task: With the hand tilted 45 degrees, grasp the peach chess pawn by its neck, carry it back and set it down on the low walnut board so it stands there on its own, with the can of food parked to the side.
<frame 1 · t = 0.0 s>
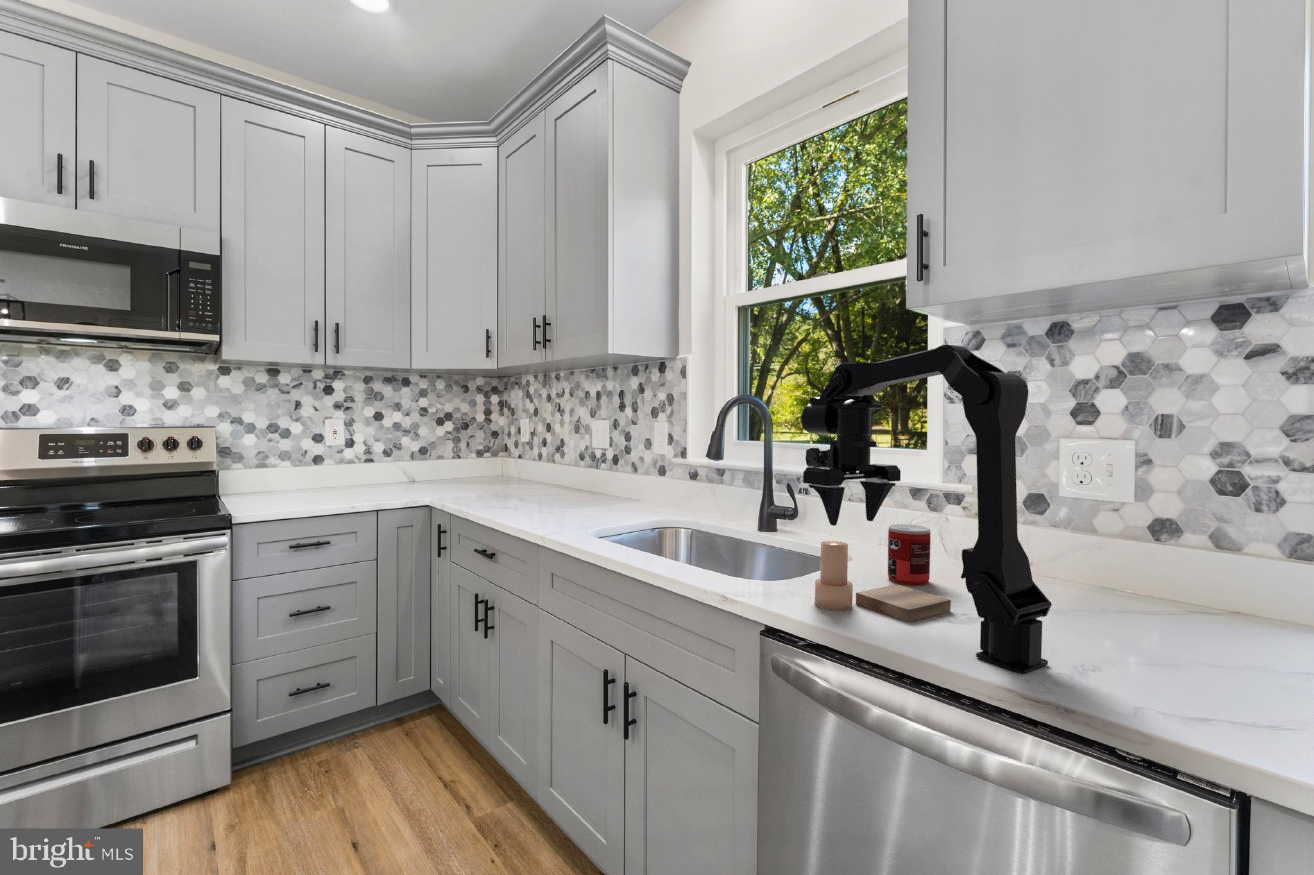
hand: (851, 523, 107), 15 cm above the worktop, tool pointing down, fingers open, 9 cm apart
canned food: (908, 581, 124), on the worktop
peach chess pawn: (833, 604, 108), on the worktop
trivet: (902, 607, 106), on the worktop
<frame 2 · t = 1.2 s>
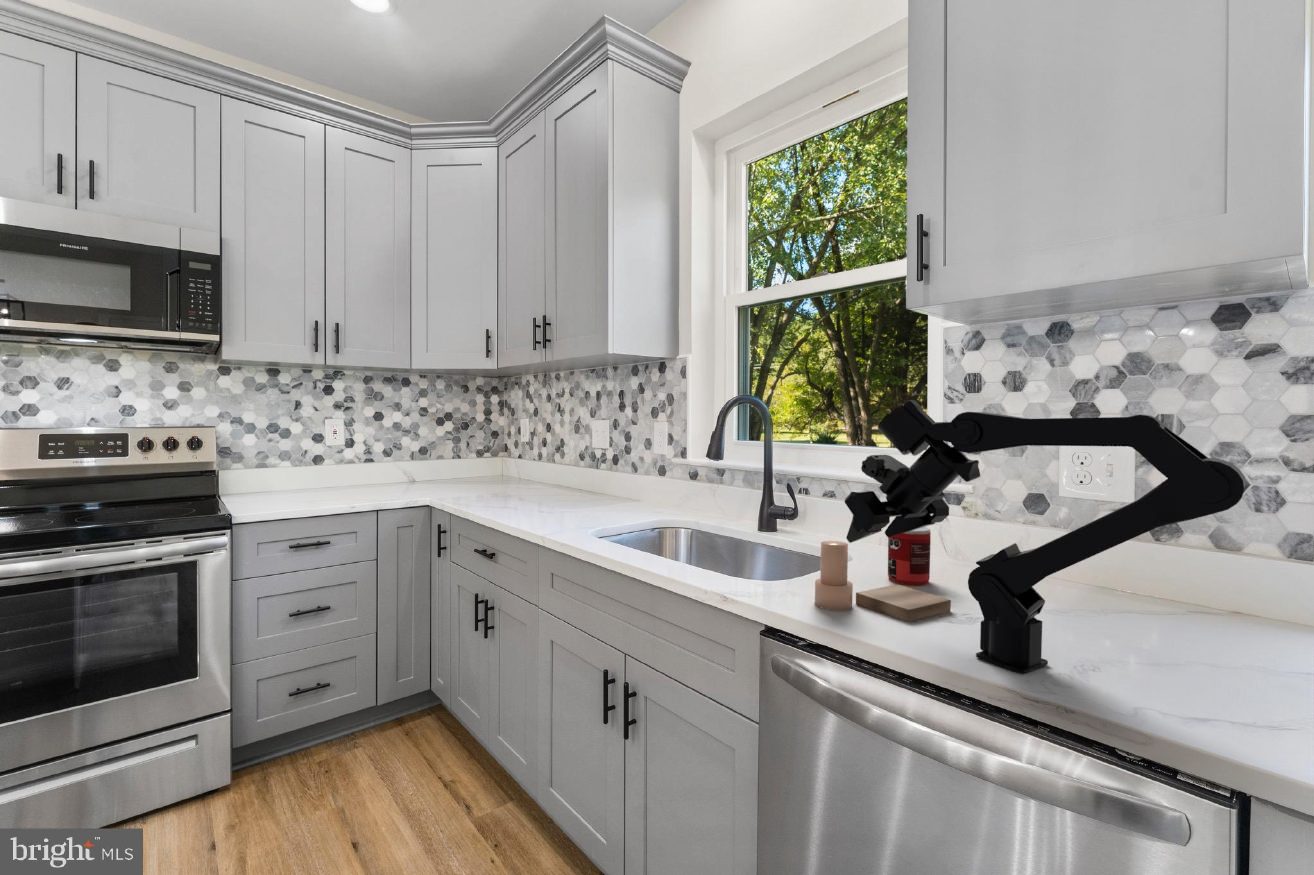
hand: (867, 537, 101), 13 cm above the worktop, tool tilted 45°, fingers open, 9 cm apart
nothing on the worktop moved.
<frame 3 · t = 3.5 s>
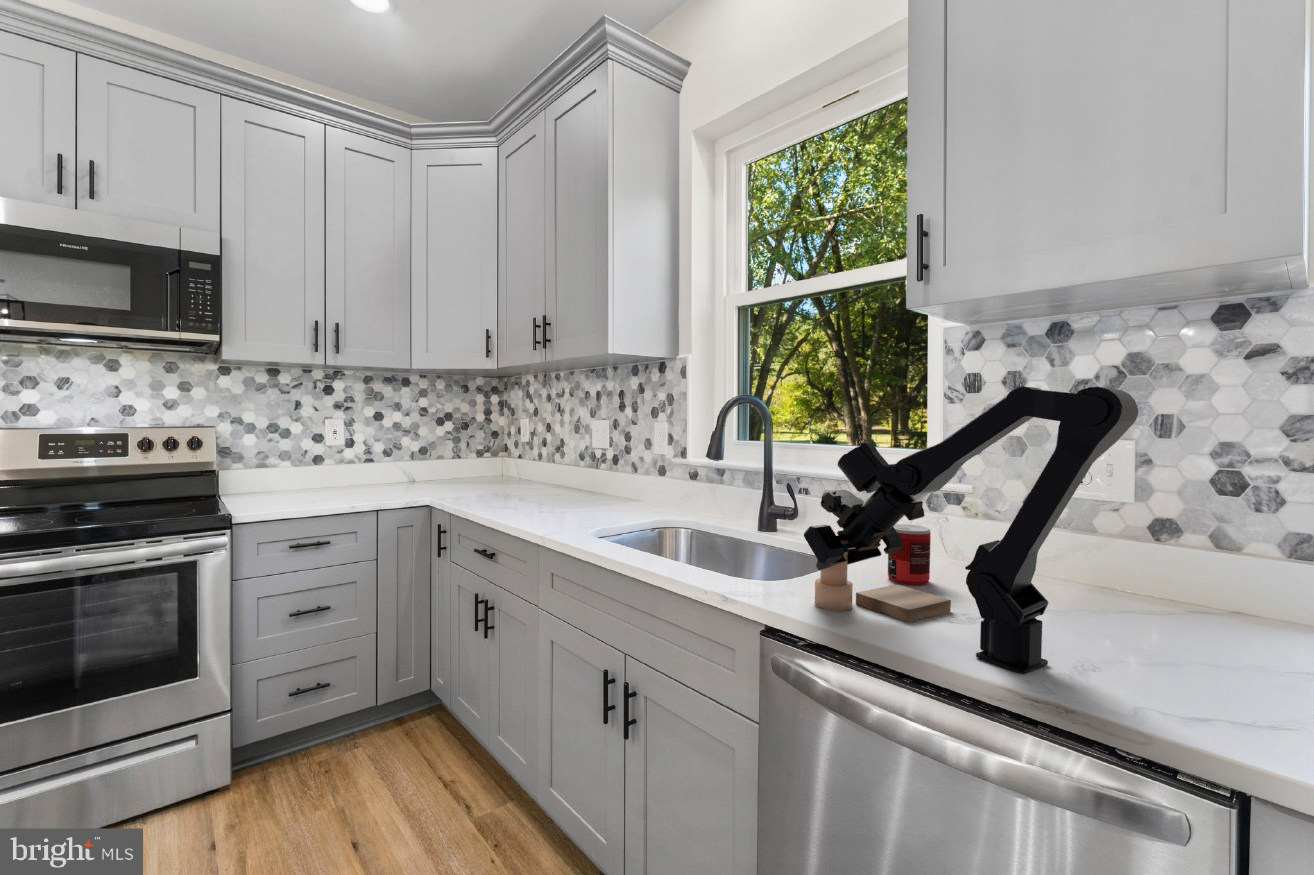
hand: (828, 566, 109), 7 cm above the worktop, tool tilted 45°, fingers closed on peach chess pawn, 5 cm apart
peach chess pawn: (833, 604, 108), on the worktop, touching gripper
everything else where it was.
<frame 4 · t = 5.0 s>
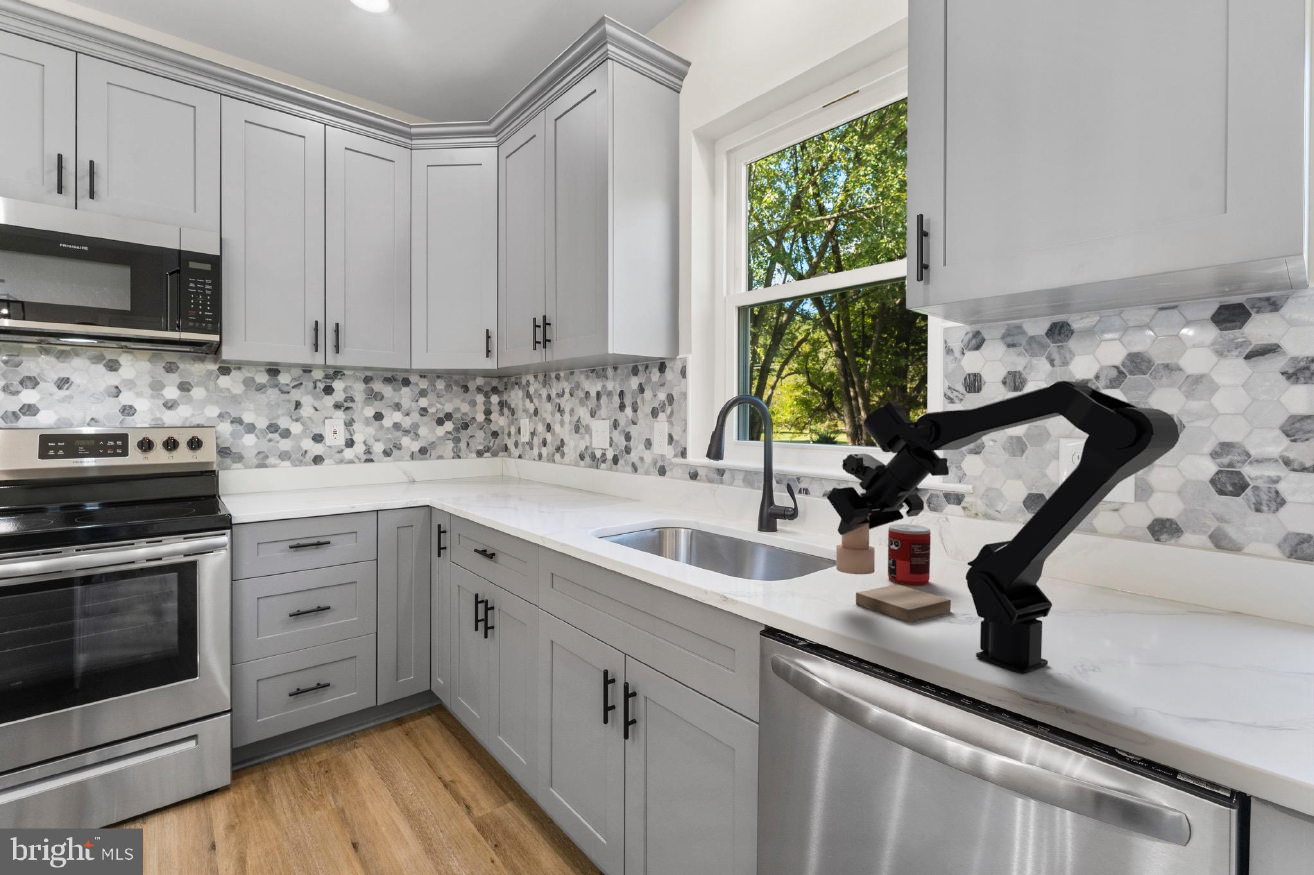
hand: (849, 531, 108), 13 cm above the worktop, tool tilted 45°, fingers closed on peach chess pawn, 5 cm apart
peach chess pawn: (855, 570, 107), point 6 cm above the worktop, touching gripper
everything else where it was.
when the fingers open (9 cm above the worktop, at t = 6.9 s): peach chess pawn stays where it is, resting on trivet.
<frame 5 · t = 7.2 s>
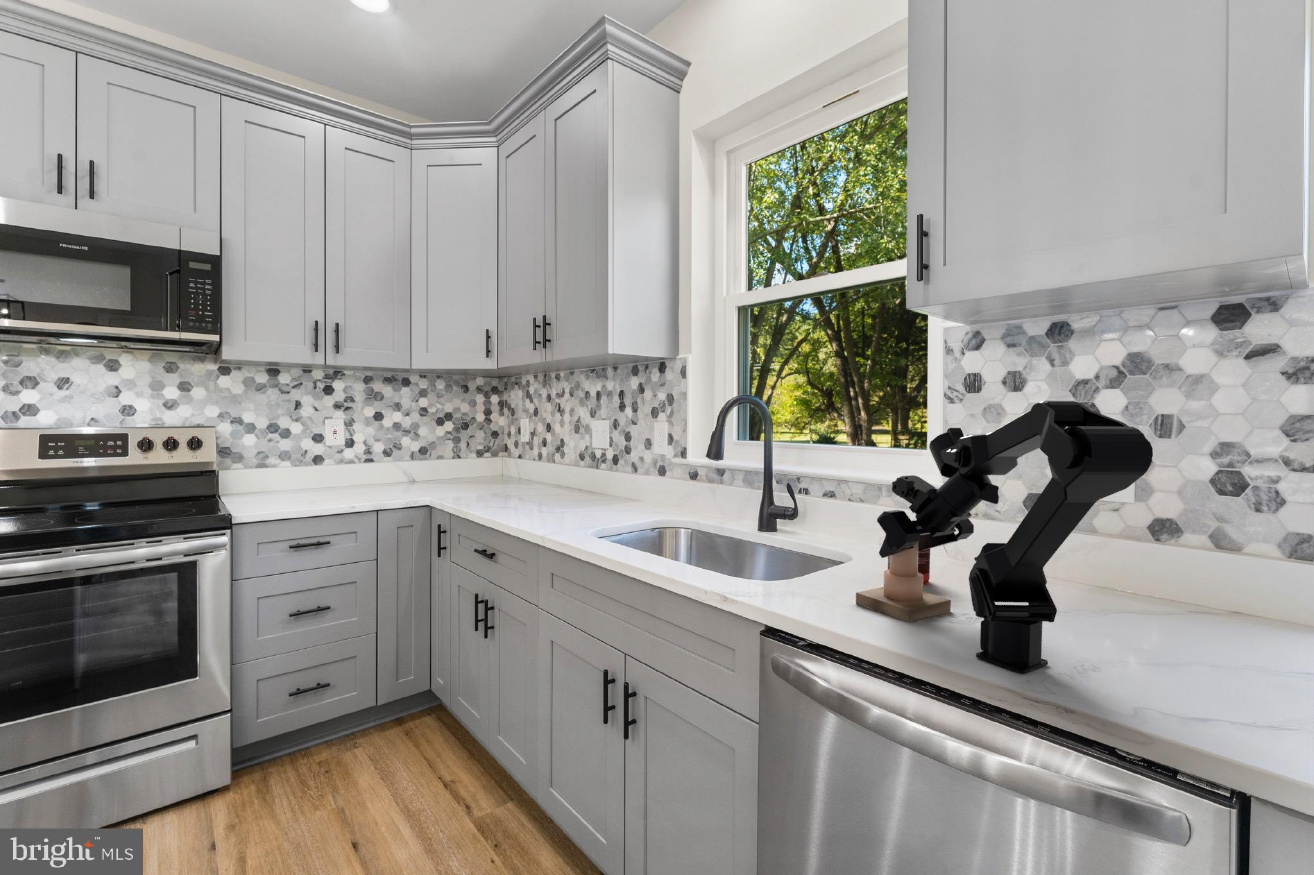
hand: (896, 553, 107), 9 cm above the worktop, tool tilted 45°, fingers open, 8 cm apart
peach chess pawn: (902, 596, 106), point 2 cm above the worktop, touching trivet
everything else where it was.
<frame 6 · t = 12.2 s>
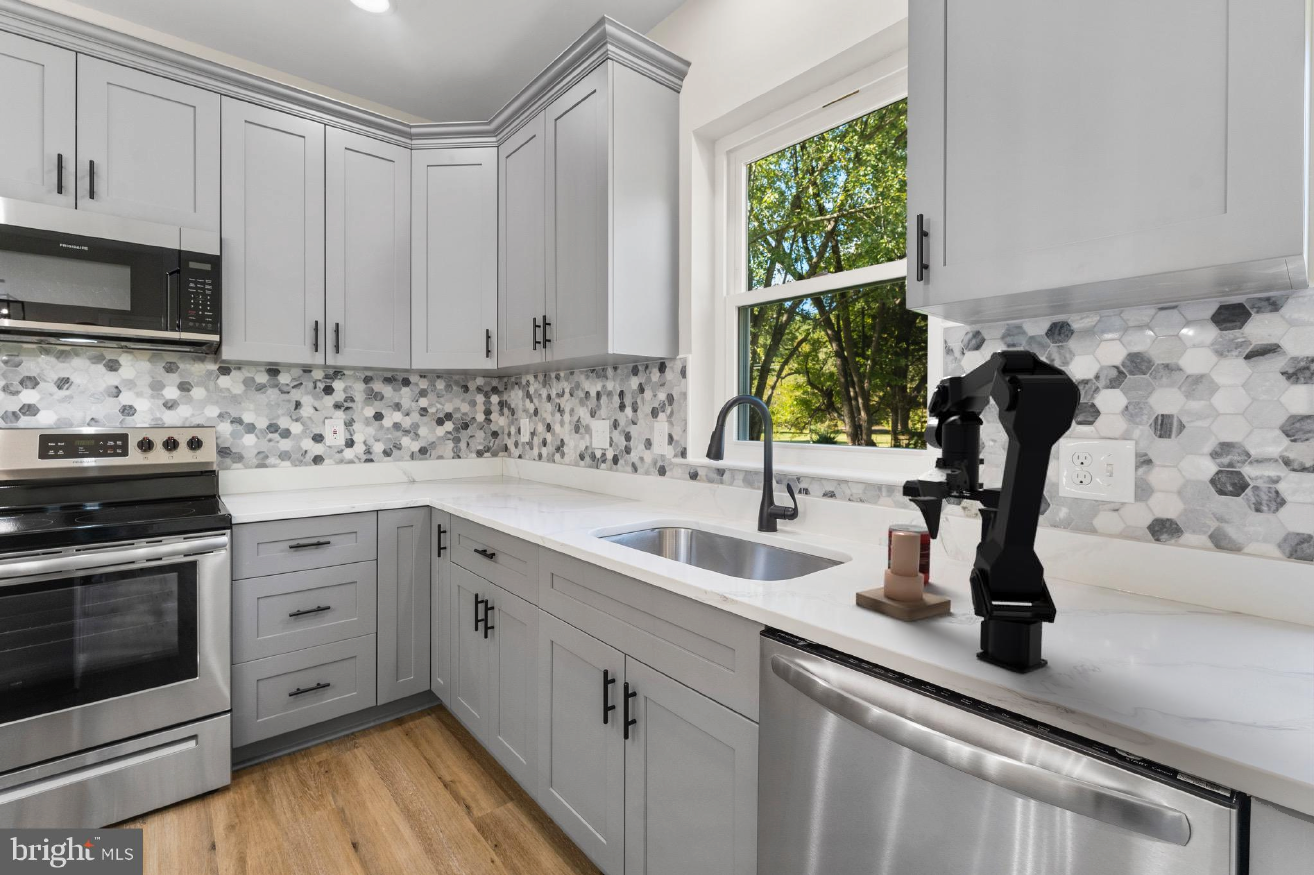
hand: (958, 544, 102), 12 cm above the worktop, tool pointing down, fingers open, 9 cm apart
nothing on the worktop moved.
at the end: peach chess pawn inside the target area on the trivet (0.1 cm from its centre), point 2.1 cm above the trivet's base; peach chess pawn tilted 2°; the gripper is holding nothing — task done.
